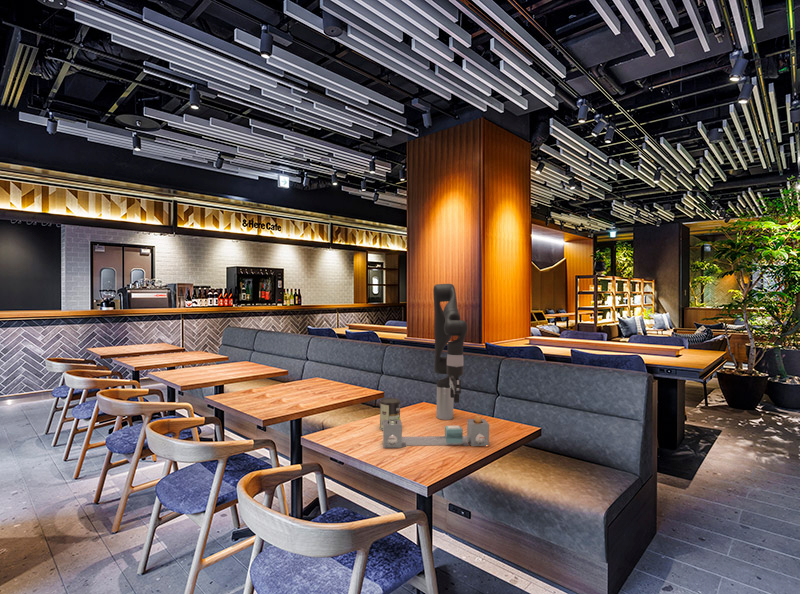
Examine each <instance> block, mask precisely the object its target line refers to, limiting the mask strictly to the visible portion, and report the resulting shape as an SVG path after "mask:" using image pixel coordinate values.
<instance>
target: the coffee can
mask: <svg viewBox="0 0 800 594" xmlns="http://www.w3.org/2000/svg"><path fill="white" fill-rule="evenodd" d="M383 420H401V399H399V398H395V397H387V398H382V399H380V400H379V429H380V431H383Z"/></svg>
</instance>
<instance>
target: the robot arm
mask: <svg viewBox="0 0 800 594" xmlns="http://www.w3.org/2000/svg"><path fill="white" fill-rule="evenodd" d="M442 302H443V303H444V302H445V303H446V302H447V303H446V304H445V305H444V308H442V306H441V303H442ZM433 307H434V330H433V331H434V362H433V363H434V365H433V366H434V368H433V369H434V373H436V374H437V375H439V374H440V375H447V376H446V377H444V378H441V379H438V380H437V381H436V410H435V411H436V415H435V416H436V418H437V419H439V420H444V421H449V420H452V419H454V403H455V404H457V403H460V394H461V393H462V380H461V379H460V377H461V376H463V375H464V344H465V338H466V335H467V332H468V323H467V322H466V320H463V319H461V315H460V312H459V310H458V301H457V291H456V288H455V285H454V284H452V283H438V284H435V285H433ZM453 336H454V337H455V336H456V337H457V338H456V339H455V340H454V339H453V340H451V339H452V337H453ZM445 347H447V354H446V355H447V356H441V355H442V352H443V350H444V349H445Z"/></svg>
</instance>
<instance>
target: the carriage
mask: <svg viewBox="0 0 800 594" xmlns="http://www.w3.org/2000/svg"><path fill="white" fill-rule="evenodd" d="M463 430H464V429H463V428H462V426H461V425H444V436H446V438H447V443H463V436H464V433H463Z"/></svg>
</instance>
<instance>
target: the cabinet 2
mask: <svg viewBox="0 0 800 594" xmlns="http://www.w3.org/2000/svg"><path fill="white" fill-rule="evenodd" d="M466 420H467V421H466V425H467V426H466V436H467V438H468V442H469V443H468V445H471V446H486V445H489V446H490V423H489V422H488V421H487V420H486V419H485V418H481V423H475V418H467V419H466ZM471 446H470V447H471Z"/></svg>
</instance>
